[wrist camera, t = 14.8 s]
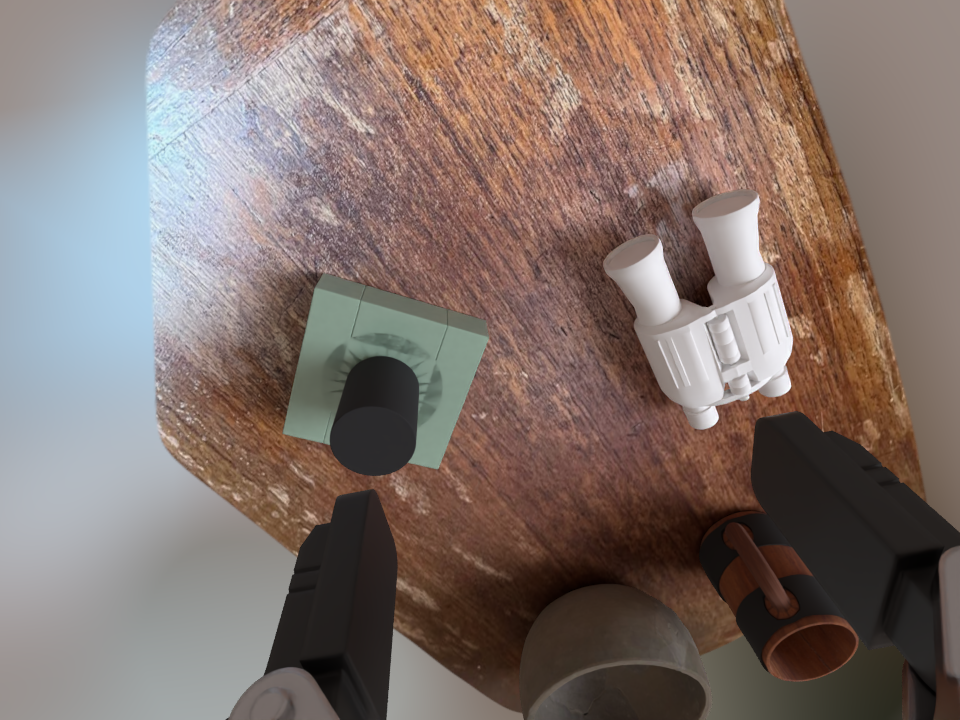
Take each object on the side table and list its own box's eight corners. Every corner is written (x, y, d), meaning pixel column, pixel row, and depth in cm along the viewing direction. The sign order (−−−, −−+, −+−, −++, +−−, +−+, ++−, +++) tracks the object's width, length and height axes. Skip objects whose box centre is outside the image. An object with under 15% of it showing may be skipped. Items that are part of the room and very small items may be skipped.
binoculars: (735, 179, 36) (773, 192, 32) (788, 361, 43) (825, 391, 39) (593, 254, 38) (612, 275, 34) (666, 417, 45) (689, 451, 41)
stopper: (344, 389, 41) (321, 465, 33) (360, 330, 39) (339, 397, 31) (409, 406, 42) (403, 483, 34) (428, 349, 40) (426, 418, 32)
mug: (753, 468, 48) (838, 574, 38) (794, 545, 53) (879, 657, 43) (666, 512, 50) (725, 625, 40) (714, 583, 55) (777, 699, 45)
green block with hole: (291, 411, 42) (281, 434, 40) (323, 272, 37) (314, 287, 35) (438, 446, 45) (438, 469, 42) (485, 320, 40) (489, 337, 37)
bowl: (579, 688, 62) (603, 790, 53) (474, 620, 55) (481, 723, 47) (706, 614, 57) (755, 712, 49) (609, 529, 51) (645, 625, 42)
